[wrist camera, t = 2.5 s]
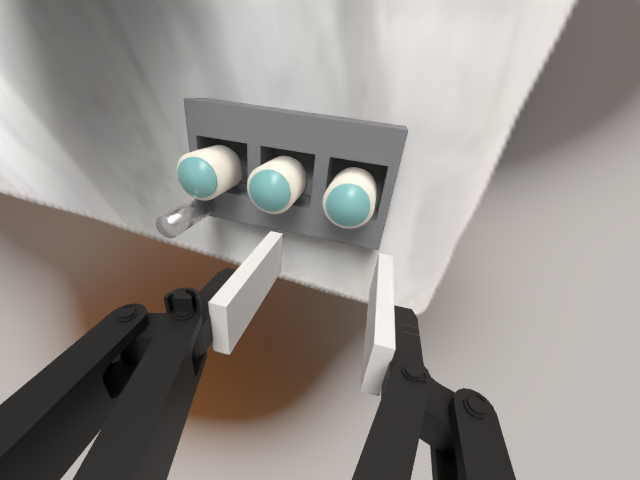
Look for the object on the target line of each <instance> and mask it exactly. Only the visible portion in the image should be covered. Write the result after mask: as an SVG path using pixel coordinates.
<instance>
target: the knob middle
mask: <svg viewBox="0 0 640 480" xmlns="http://www.w3.org/2000/svg"><path fill="white" fill-rule="evenodd" d="M306 185H307V174H306V171H305V169H304V167H303V166H302V164H301V163H300V162H299V161H298V160H296V159H295V158H293V157H290V156H278V157H276V158H274V159H272V160H270V161H268V162H266V163H265V164H263V165H261V166H259V167H257V168H256V169H254V170H253V171H252V172H251V174H250V175H249V178H248V181H247V191H248V194H249V197H250V199H251V201H252V202H253V203H254V205H255V206H256V207H258V208H259V209H260V210H262V211H264V212H266V213H269V214H279V213H283V212H285V211H286V210H288V209H289V208H290V207H291V205H292V204H293V203H294V202H295V201H296V200H297V199H298V198H299V196H300V195H301V194H302V193H303V192H304V190H305V188H306Z"/></svg>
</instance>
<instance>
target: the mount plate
mask: <svg viewBox="0 0 640 480" xmlns="http://www.w3.org/2000/svg"><path fill="white" fill-rule="evenodd" d="M184 105H185V114H186V123H187V132H188V141H189V149H190V152H193V151H196V150H200V149H204V148H207V147H211V146H214V145H217V142H216V139H222V140H228V141H235V142H241V143H247V161H248V178H249V175H250V174H251V172H252V171H253V170H254V169H256V168H257V167H259V166H261V165H263V164H265V163H266V162H268V161H270V160H272V159H273V158H274V148H278V149H284V150H290V151H297V152H303V153H309V154H315V163H314V173H313V183H312V193H311V196H308V195H302V194H301V195H300V196H299V198H298V199H297V200H296V201H295V202H294V203H293V204H292V205H291V207H290V208H289V209H288V210H286V211H285V212H283V213H279V214H269V213H266V212H264V211H262V210H260V209H259V208H258V207H256V206H255V205H254V203H253V202H252V201H251V199H250V197H249V194H248V191H247V184H242V183H238V184H237V185H235V186H234V187H232V188H230V189H229V190H227V191H225V192H223V193H222V194H220V195H218V196H217V197H215V198H213V201H214V202H215V210H214V212H212V213H211V214H209V215H208V216H213V217H218V218H223V219H228V220H233V221H238V222H242V223H247V224H252V225H257V226H262V227H267V228H272V229H277V230H282V231H287V232H292V233H297V234H302V235H307V236H311V237H316V238H321V239H326V240H331V241H336V242H341V243H346V244H351V245H356V246H361V247H366V248H371V249H375V250H379V246H380V242H381V238H382V234H383V230H384V226H385V222H386V218H387V214H388V210H389V206H390V201H391V197H392V193H393V189H394V185H395V181H396V177H397V173H398V169H399V165H400V161H401V157H402V153H403V149H404V145H405V141H406V137H407V133H408V129H407V128H406V126H400V125H393V124H386V123H379V122H372V121H364V120H357V119H350V118H343V117H336V116H329V115H322V114H314V113H307V112H300V111H293V110H286V109H279V108H272V107H264V106H257V105H250V104H243V103H236V102H229V101H222V100H215V99H207V98H184ZM335 158H340V159H346V160H353V161H359V162H365V163H371V164H377V165H384V166H387V168H386V172H385V176H384V181H383V185H382V190H381V194H380V199H379V203H378V207H377V208H375V209H374V213H373V215H372V217H371V218H370V219H369V221H368V222H367V223H365V224H364V225H362V226H360V227H357V228H352V229H347V228H342V227H339V226H337V225H335V224H333V223H332V222H331V221H330V220H329V219H328V218H327V216H326V214H325V212H324V210H323V196H324V194H325V192H326V190H327V188H328V187H329V185H330V184H331V182H332V176H333V169H334V161H335Z"/></svg>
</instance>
